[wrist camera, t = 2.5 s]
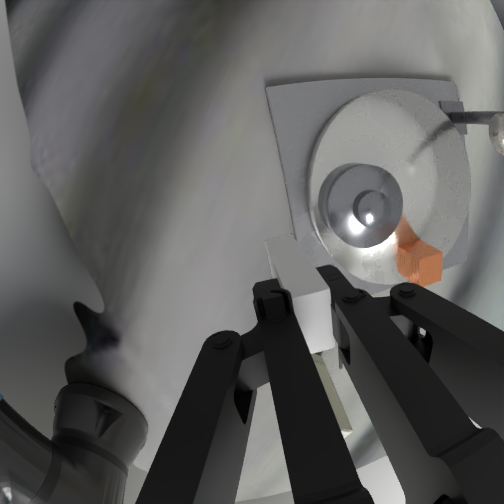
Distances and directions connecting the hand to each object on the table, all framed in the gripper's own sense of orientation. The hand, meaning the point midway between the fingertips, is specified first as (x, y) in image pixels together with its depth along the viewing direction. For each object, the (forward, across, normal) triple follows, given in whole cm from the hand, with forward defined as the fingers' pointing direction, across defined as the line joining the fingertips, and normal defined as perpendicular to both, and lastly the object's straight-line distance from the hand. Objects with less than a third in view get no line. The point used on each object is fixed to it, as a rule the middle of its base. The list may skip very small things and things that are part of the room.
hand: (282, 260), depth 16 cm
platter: (+11, +15, 0) cm, 18 cm away
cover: (+10, +8, 0) cm, 13 cm away
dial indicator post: (+13, +24, +7) cm, 28 cm away
